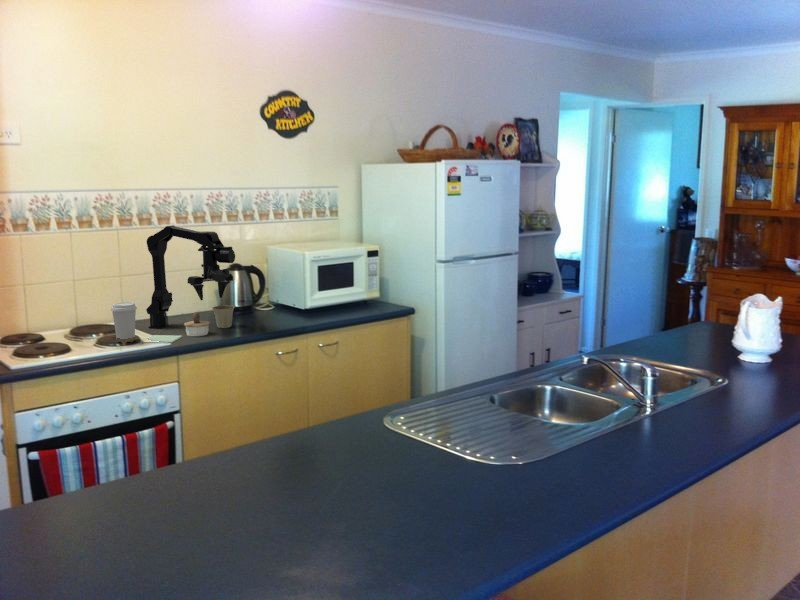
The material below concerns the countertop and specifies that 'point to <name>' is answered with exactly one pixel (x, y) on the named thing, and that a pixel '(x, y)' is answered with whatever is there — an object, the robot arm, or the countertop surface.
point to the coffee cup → (124, 319)
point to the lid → (196, 322)
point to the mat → (164, 338)
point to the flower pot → (223, 316)
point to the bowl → (197, 331)
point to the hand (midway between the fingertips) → (211, 299)
